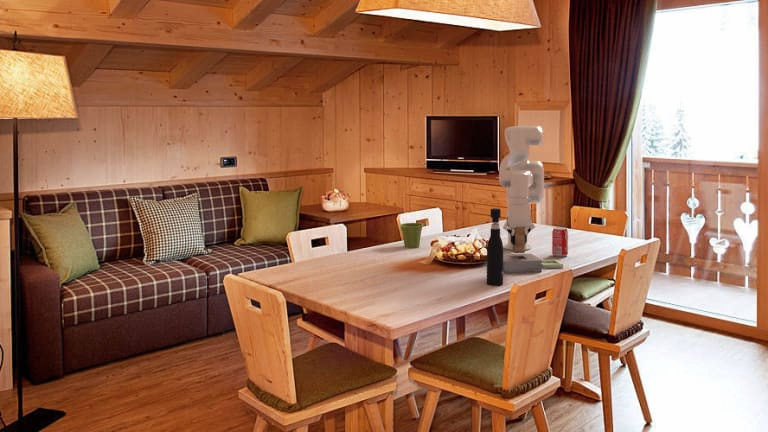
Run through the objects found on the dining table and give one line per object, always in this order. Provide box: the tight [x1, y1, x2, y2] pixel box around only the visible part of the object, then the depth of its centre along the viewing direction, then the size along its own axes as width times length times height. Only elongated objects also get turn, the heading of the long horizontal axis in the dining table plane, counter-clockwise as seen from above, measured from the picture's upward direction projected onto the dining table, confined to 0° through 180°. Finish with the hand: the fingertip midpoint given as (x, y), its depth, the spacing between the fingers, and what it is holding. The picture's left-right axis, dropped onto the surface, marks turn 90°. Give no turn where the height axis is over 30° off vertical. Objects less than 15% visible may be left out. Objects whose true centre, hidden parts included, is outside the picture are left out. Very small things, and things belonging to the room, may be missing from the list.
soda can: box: [551, 226, 569, 258], centre depth 348 cm, size 7×7×13 cm
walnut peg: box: [512, 226, 526, 254], centre depth 321 cm, size 4×4×16 cm
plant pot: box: [399, 222, 424, 249], centre depth 373 cm, size 12×12×11 cm
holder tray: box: [541, 259, 564, 270], centre depth 328 cm, size 9×9×2 cm
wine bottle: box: [486, 207, 504, 287], centre depth 296 cm, size 6×6×30 cm
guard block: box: [503, 253, 543, 274], centre depth 323 cm, size 14×16×5 cm
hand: (518, 243), depth 322 cm, fingers closed on walnut peg, 4 cm apart
